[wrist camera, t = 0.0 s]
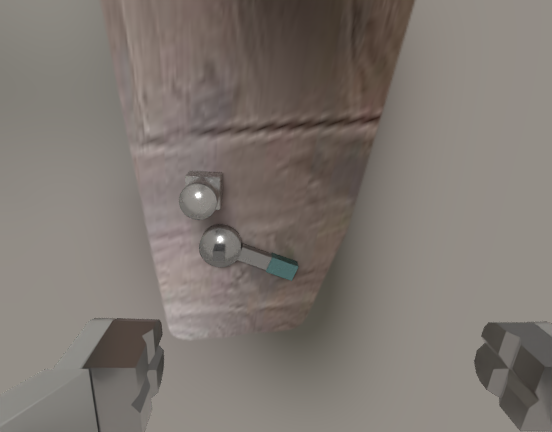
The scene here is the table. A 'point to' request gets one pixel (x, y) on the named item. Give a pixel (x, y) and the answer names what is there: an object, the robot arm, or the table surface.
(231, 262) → the ratchet
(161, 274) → the table surface
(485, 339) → the robot arm
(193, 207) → the cylinder on square base
